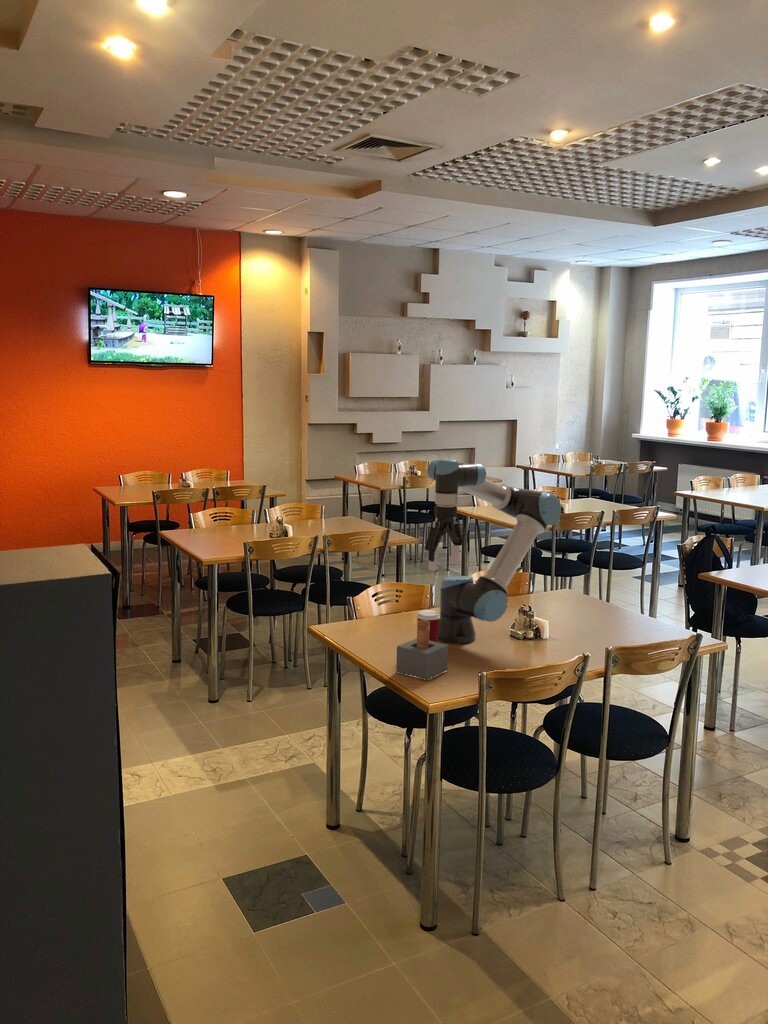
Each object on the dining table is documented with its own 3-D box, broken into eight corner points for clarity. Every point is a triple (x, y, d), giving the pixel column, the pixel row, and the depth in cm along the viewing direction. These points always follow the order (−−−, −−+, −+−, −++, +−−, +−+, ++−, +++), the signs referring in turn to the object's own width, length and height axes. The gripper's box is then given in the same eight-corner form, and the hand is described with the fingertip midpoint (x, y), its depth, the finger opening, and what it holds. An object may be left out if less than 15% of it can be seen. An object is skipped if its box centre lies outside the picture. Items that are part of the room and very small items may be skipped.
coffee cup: (437, 650, 302) (439, 609, 300) (439, 658, 294) (441, 616, 292) (413, 650, 302) (415, 609, 300) (415, 658, 294) (416, 615, 291)
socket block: (417, 663, 288) (418, 637, 287) (447, 671, 281) (448, 645, 280) (396, 672, 279) (397, 646, 277) (426, 681, 272) (427, 653, 270)
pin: (420, 660, 282) (422, 619, 280) (430, 663, 280) (432, 621, 278) (413, 663, 279) (415, 621, 277) (423, 666, 277) (425, 624, 275)
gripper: (456, 500, 300) (454, 559, 303) (415, 507, 280) (413, 571, 283) (474, 502, 295) (472, 562, 298) (434, 510, 275) (432, 574, 279)
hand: (443, 567), depth 291 cm, fingers open, 13 cm apart
